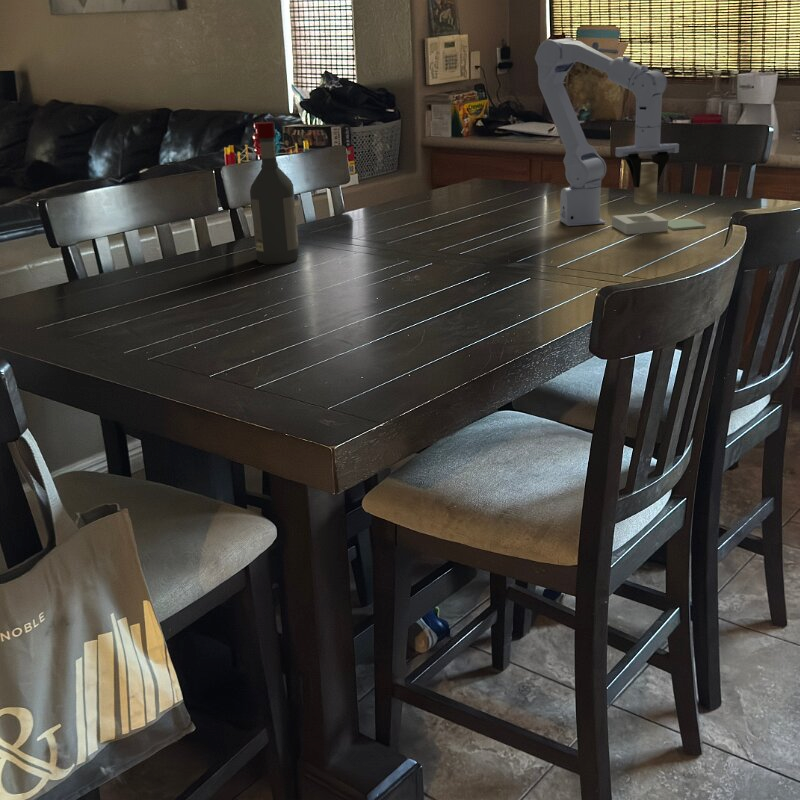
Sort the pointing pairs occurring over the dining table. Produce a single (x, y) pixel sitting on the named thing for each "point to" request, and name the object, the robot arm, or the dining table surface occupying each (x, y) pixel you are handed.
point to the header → (639, 223)
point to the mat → (684, 224)
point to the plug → (647, 184)
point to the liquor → (273, 206)
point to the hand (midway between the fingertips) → (645, 186)
